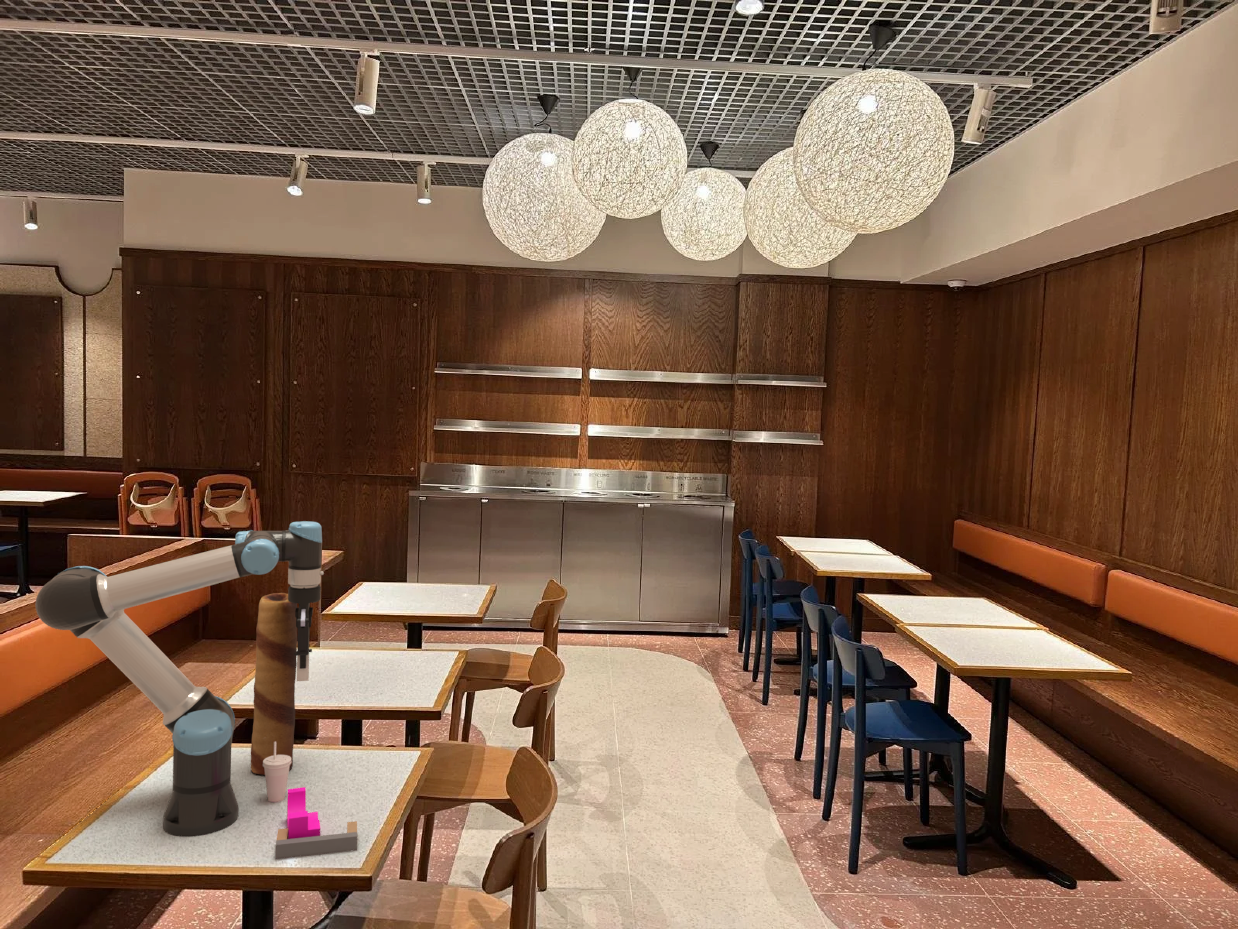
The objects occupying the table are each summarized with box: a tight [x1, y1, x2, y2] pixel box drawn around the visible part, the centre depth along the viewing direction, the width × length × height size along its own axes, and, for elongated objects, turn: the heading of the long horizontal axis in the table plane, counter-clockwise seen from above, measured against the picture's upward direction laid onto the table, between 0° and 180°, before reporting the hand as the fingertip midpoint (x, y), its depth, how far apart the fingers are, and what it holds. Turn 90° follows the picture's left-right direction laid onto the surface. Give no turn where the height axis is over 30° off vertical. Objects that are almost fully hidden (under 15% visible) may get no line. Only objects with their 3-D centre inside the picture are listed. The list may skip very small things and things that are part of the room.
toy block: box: [286, 786, 321, 839], centre depth 186 cm, size 15×6×8 cm, turn 22°
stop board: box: [274, 821, 358, 860], centre depth 180 cm, size 16×7×4 cm, turn 108°
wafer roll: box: [250, 592, 298, 776], centre depth 218 cm, size 10×11×45 cm
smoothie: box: [263, 741, 292, 803], centre depth 202 cm, size 6×6×14 cm
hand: (302, 680), depth 209 cm, fingers closed
